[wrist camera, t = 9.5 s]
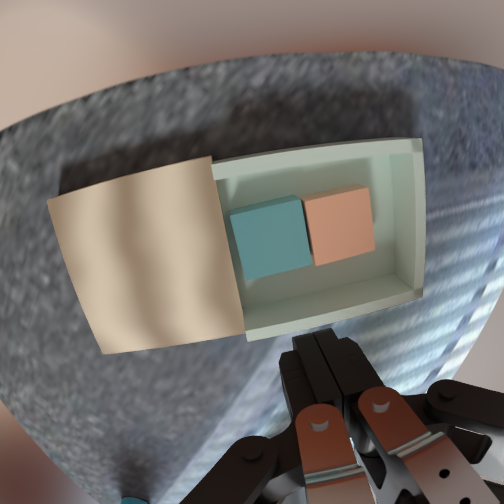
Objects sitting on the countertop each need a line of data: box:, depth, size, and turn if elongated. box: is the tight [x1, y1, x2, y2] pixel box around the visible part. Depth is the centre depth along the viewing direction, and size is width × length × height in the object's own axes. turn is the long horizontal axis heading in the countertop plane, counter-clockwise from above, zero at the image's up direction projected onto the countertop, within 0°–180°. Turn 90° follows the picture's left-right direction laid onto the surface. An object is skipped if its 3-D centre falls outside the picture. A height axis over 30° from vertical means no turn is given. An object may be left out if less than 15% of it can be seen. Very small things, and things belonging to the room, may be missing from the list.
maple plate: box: [47, 155, 246, 354], centre depth 24 cm, size 13×14×2 cm
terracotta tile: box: [298, 184, 375, 266], centre depth 24 cm, size 5×5×2 cm
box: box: [211, 137, 426, 342], centre depth 23 cm, size 15×13×4 cm
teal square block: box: [229, 195, 312, 281], centre depth 23 cm, size 5×5×2 cm
